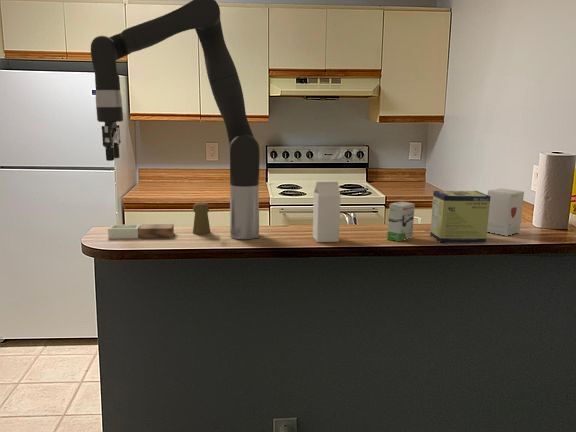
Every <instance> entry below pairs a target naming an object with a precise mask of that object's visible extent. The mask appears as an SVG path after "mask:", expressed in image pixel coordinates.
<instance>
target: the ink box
mask: <svg viewBox="0 0 576 432" xmlns="http://www.w3.org/2000/svg"><path fill="white" fill-rule="evenodd" d="M415 205H416V204H415V203H412V202H408V201H403V200H402V201H398V202H393V203H390V204H389V205H388V207H389V208H388V220H387V221H388V223H387V224H388V225H387V236H386V237H387V240H388V239H389V241H393V240H395V241H394V242H398V241H401V242H403V241H402V240H404V239H407V238H410V237H412V238H413V230H414V217H415ZM410 239H411V238H410ZM407 240H408V239H407ZM404 241H405V240H404Z"/></svg>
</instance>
